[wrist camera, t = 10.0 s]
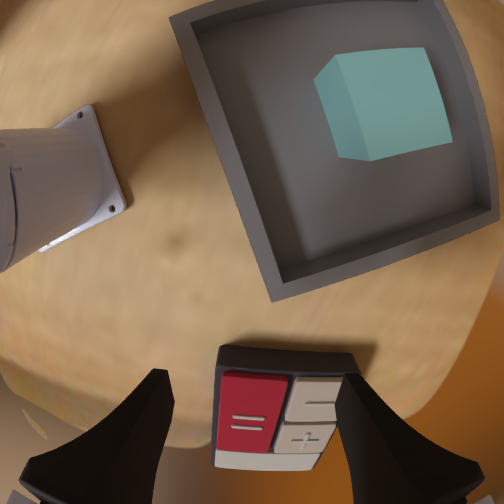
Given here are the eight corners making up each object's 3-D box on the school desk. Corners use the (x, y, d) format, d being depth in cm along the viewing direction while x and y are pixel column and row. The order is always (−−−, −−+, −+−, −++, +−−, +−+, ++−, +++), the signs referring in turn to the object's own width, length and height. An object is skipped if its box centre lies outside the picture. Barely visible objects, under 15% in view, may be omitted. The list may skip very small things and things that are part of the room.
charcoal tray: (269, 284, 19) (271, 302, 17) (179, 32, 14) (168, 17, 11) (480, 211, 17) (499, 219, 15) (417, -5, 12) (432, -17, 9)
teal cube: (338, 157, 16) (370, 161, 11) (313, 79, 14) (335, 54, 10) (407, 140, 15) (452, 142, 11) (384, 68, 14) (423, 47, 9)
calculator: (366, 378, 18) (314, 474, 23) (351, 346, 23) (309, 446, 27) (214, 371, 18) (209, 471, 23) (220, 336, 22) (213, 441, 27)
